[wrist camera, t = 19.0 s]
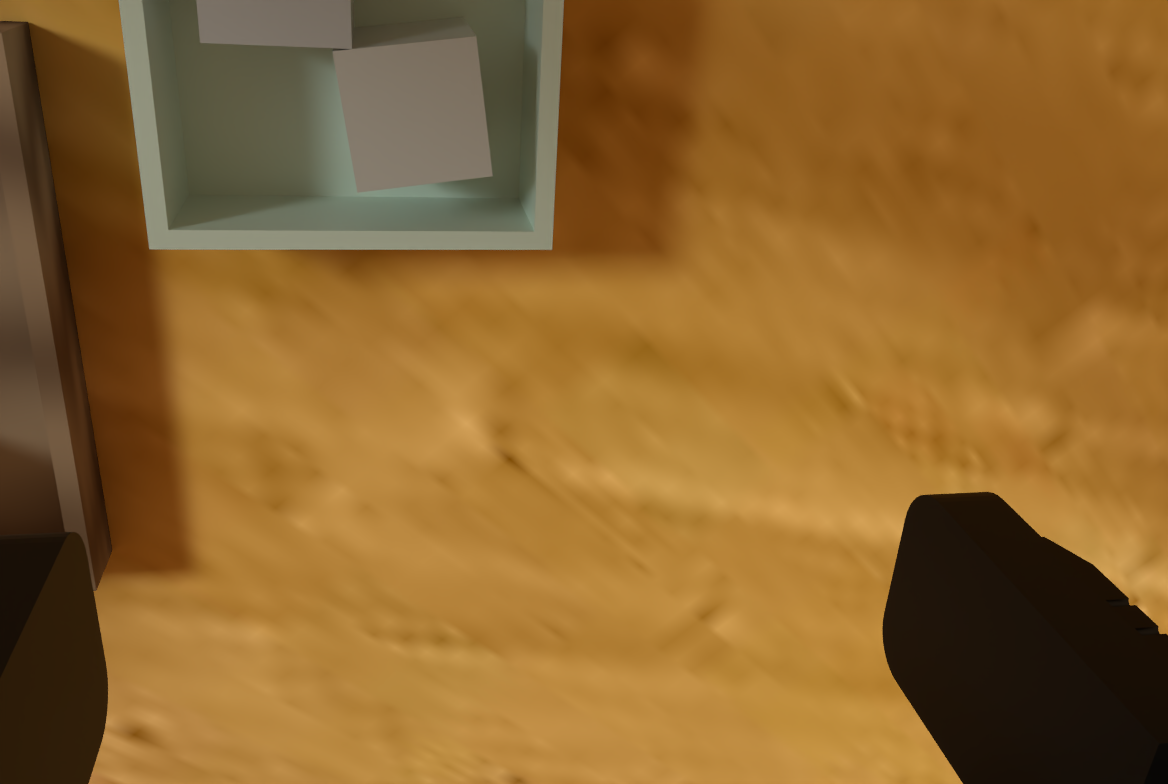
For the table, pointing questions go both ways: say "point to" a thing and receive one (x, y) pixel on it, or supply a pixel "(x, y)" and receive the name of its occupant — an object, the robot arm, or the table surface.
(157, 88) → the dump tub
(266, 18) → the stone
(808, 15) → the table surface
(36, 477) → the tray
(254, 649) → the table surface
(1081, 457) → the table surface
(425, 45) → the grey rectangular block
